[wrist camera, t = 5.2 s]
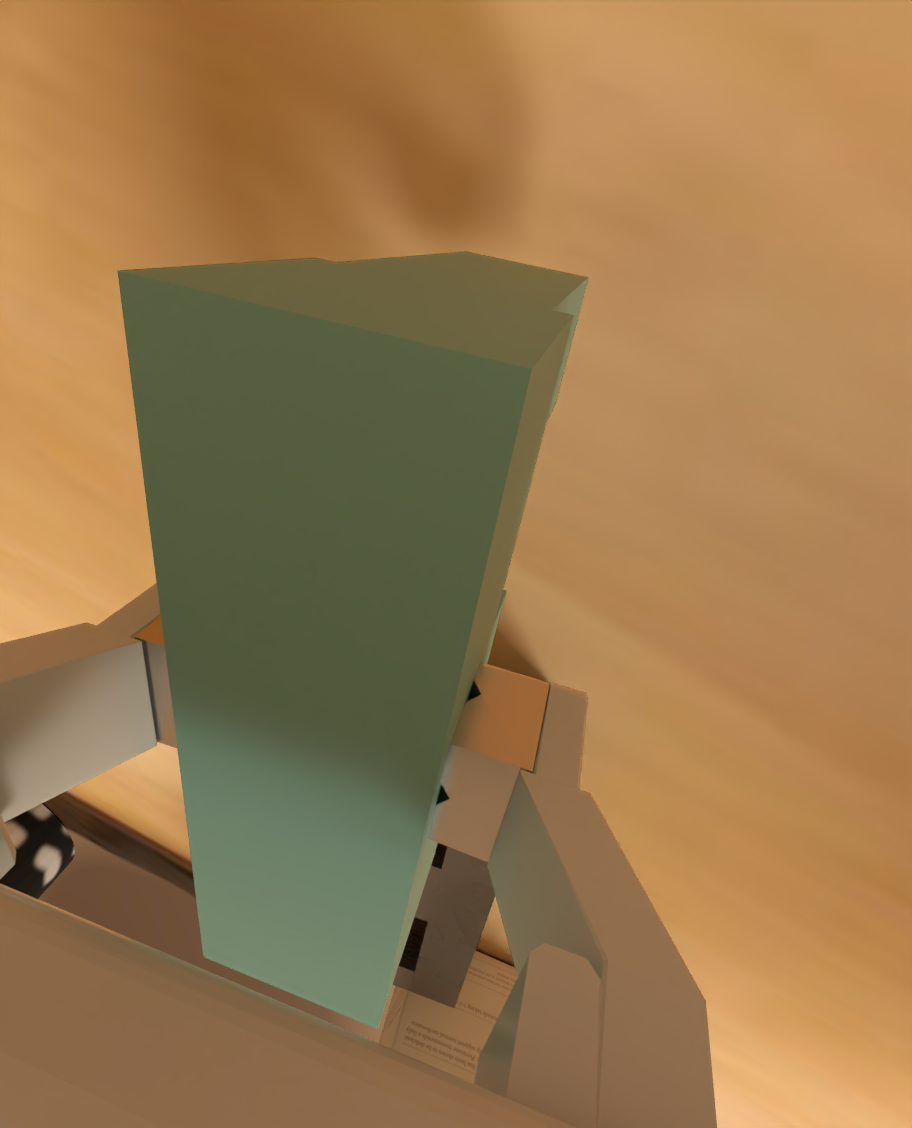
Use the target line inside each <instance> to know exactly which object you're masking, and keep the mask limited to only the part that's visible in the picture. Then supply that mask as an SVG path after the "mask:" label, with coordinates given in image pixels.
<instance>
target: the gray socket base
mask: <svg viewBox="0 0 912 1128" xmlns="http://www.w3.org/2000/svg"><path fill="white" fill-rule="evenodd" d="M487 865H488V862H486V861H483V860H481V859H478V858H476V857H473V856H471V855H468V854H466V853H463V852H461V851H458V850H455V849H453V848H450V847H448V846H445V845H443V844H440V843H438V844H437V848H436V851H435V855H434V858H433V861H432V864H431V867H430V870H429V874H428V877H427V880H426V883H425V886H424V889H423V892H422V895H421V898H420V901H419V904H418V907H417V911H416V914H415V917H414V920H413V923H412V926H411V929H410V932H409V935H408V938H407V941H406V945H405V948H404V951H403V954H402V957H401V960H400V963H399V966H398V969H397V972H396V975H395V978H394V982H393V985H395V986H397V987H400V988H403V989H405V990H408V991H410V992H413V993H416V994H418V995H421V996H423V997H426V998H429V999H431V1000H434V1001H436V1002H439V1003H442V1004H444V1005H447V1006H450V1007H452V1008H455V1005H456V1002H457V1000H458V997H459V994H460V991H461V989H462V986H463V983H464V980H465V978H466V975H467V972H468V969H469V967H470V964H471V961H472V958H473V955H474V953H475V950H476V947H477V944H478V942H479V939H480V936H481V933H482V931H483V928H484V925H485V922H486V920H487V917H488V914H489V911H490V908H491V906H492V903H493V900H494V897H495V892H494V888H493V885H492V881H491V877H490V874H489V870H488V866H487Z"/></svg>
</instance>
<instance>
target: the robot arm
mask: <svg viewBox="0 0 912 1128" xmlns="http://www.w3.org/2000/svg"><path fill="white" fill-rule="evenodd" d="M587 705H588V697H587V694H586V693H585V692H582V691H578V690H575V689H571V688H568V687H564V686H561V685H558V684H554V683H550V684H549V683H548V682H545V681H541V680H538V679H535V678H532V677H529V676H525V675H522V674H519V673H516V672H512V671H509V670H506V669H503V668H499V667H496V666H493V665H490V664H486V663H483V662H481V663H480V664H479V666H478V669H477V672H476V675H475V677H474V680H473V684H472V688H471V692H470V696H469V700H468V702H466V703H465V705H464V707H463V710H462V713H461V716H460V718H459V721H458V724H457V727H456V729H455V732H454V735H453V738H452V740H451V743H450V747H449V751H448V755H447V759H446V764H445V768H444V772H443V776H442V780H441V784H442V788H441V791H440V794H439V797H438V799H437V802H436V805H435V809H434V813H433V818H432V822H431V826H430V830H429V834H428V839H430V840H433V841H435V842H438V843H440V844H443V845H445V846H448V847H450V848H453V849H455V850H458V851H461V852H463V853H466V854H468V855H471V856H473V857H476V858H478V859H481V860H483V861H486V862H488V865H487V866H488V870H489V874H490V877H491V881H492V885H493V888H494V892H495V896H496V899H497V903H498V907H499V910H500V914H501V918H502V921H503V925H504V929H505V932H506V936H507V940H508V943H509V947H510V951H511V955H512V958H513V962H514V966H515V969H516V973H517V977H518V978H517V980H516V982H515V984H514V986H513V988H512V990H511V992H510V994H509V996H508V998H507V1000H506V1002H505V1004H504V1007H503V1009H502V1011H501V1013H500V1015H499V1017H498V1019H497V1021H496V1023H495V1025H494V1027H493V1029H492V1031H491V1033H490V1035H489V1037H488V1039H487V1041H486V1043H485V1045H484V1047H483V1049H482V1052H481V1054H480V1056H479V1060H478V1065H477V1070H476V1075H475V1080H474V1084H473V1083H471V1082H468V1081H466V1080H464V1079H461V1078H459V1077H457V1076H454V1075H452V1074H449V1073H447V1072H445V1071H442V1070H440V1069H438V1068H435V1067H433V1066H431V1065H428V1064H426V1063H423V1062H421V1061H419V1060H416V1059H414V1058H412V1057H409V1056H407V1055H405V1054H402V1053H400V1052H397V1051H395V1050H393V1049H390V1048H388V1047H386V1046H383V1045H381V1044H379V1043H376V1042H374V1041H371V1040H369V1039H367V1038H364V1037H362V1036H359V1035H357V1034H355V1033H353V1032H350V1031H348V1030H345V1029H343V1028H341V1027H338V1026H336V1025H334V1024H331V1023H329V1022H327V1021H324V1020H322V1019H319V1018H317V1017H315V1016H312V1015H310V1014H307V1013H305V1012H303V1011H300V1010H298V1009H296V1008H293V1007H291V1006H288V1005H286V1004H284V1003H282V1002H279V1001H277V1000H274V999H272V998H270V997H267V996H265V995H263V994H260V993H258V992H256V991H253V990H251V989H248V988H246V987H244V986H241V985H239V984H237V983H234V982H232V981H230V980H227V979H225V978H222V977H220V976H218V975H216V974H213V973H211V972H208V971H206V970H203V969H201V968H199V967H197V966H194V965H191V964H190V963H187V962H184V961H182V960H180V959H178V958H175V957H173V956H170V955H168V954H166V953H163V952H161V951H159V950H156V949H154V948H151V947H149V946H147V945H144V944H142V943H140V942H137V941H135V940H133V939H130V938H128V937H126V936H123V935H121V934H119V933H116V932H114V931H112V930H109V929H107V928H104V927H102V926H100V925H97V924H95V923H93V922H90V921H88V920H86V919H83V918H81V917H78V916H76V915H74V914H71V913H69V912H66V911H64V910H62V909H60V908H57V907H55V906H52V905H50V904H48V903H45V902H43V901H40V900H38V899H36V898H34V897H31V896H29V895H26V894H24V893H22V892H19V891H17V890H15V889H12V888H10V887H8V886H5V885H3V884H1V883H0V1128H717V1121H716V1110H715V1099H714V1088H713V1077H712V1066H711V1055H710V1044H709V1033H708V1022H707V1011H706V1000H705V999H704V997H703V995H702V993H701V991H700V990H699V988H698V986H697V984H696V982H695V981H694V979H693V977H692V975H691V973H690V972H689V970H688V968H687V966H686V964H685V963H684V961H683V959H682V957H681V955H680V954H679V952H678V950H677V948H676V946H675V945H674V943H673V941H672V939H671V937H670V936H669V934H668V932H667V930H666V928H665V927H664V925H663V923H662V921H661V919H660V918H659V916H658V914H657V912H656V910H655V909H654V907H653V905H652V903H651V901H650V900H649V898H648V896H647V894H646V892H645V890H644V889H643V887H642V885H641V883H640V881H639V880H638V878H637V876H636V874H635V872H634V871H633V869H632V867H631V865H630V863H629V862H628V860H627V858H626V856H625V854H624V853H623V851H622V849H621V847H620V845H619V844H618V842H617V840H616V838H615V836H614V835H613V833H612V831H611V829H610V827H609V826H608V824H607V822H606V820H605V818H604V817H603V815H602V813H601V811H600V809H599V808H598V806H597V804H596V802H595V800H594V799H593V797H592V795H591V794H590V793H588V792H585V791H582V790H579V785H580V775H581V765H582V755H583V745H584V735H585V725H586V715H587ZM157 742H160V743H163V744H166V745H169V746H172V747H175V748H177V740H176V732H175V724H174V716H173V708H172V700H171V692H170V684H169V676H168V668H167V660H166V652H165V645H164V637H163V629H162V621H161V613H160V605H159V597H158V589H157V583H156V584H155V585H153V586H152V587H151V588H149V589H148V590H146V591H145V592H144V593H142V594H141V595H139V596H138V597H137V598H135V599H134V600H132V601H131V602H129V603H128V604H127V605H125V606H124V607H122V608H121V609H120V610H118V611H117V612H115V613H114V614H113V615H111V616H110V617H108V618H107V619H106V620H104V621H103V622H101V623H100V624H99V625H97V626H96V625H93V624H90V623H83V624H79V625H75V626H71V627H67V628H62V629H58V630H54V631H50V632H46V633H42V634H38V635H34V636H30V637H26V638H21V639H17V640H13V641H9V642H5V643H1V644H0V879H1V878H2V877H3V876H4V875H5V874H6V873H7V872H8V871H9V870H10V869H11V868H12V867H13V866H14V865H15V860H16V850H15V848H14V845H13V843H12V840H11V838H10V835H9V833H8V830H7V828H6V825H5V823H4V822H6V821H8V820H10V819H12V818H14V817H16V816H18V815H20V814H22V813H24V812H26V811H28V810H30V809H32V808H34V807H36V806H38V805H40V804H42V803H44V802H45V801H47V800H49V799H51V798H53V797H55V796H57V795H59V794H61V793H63V792H65V791H67V790H69V789H71V788H73V787H75V786H77V785H79V784H81V783H83V782H85V781H87V780H89V779H91V778H93V777H95V776H97V775H99V774H101V773H103V772H105V771H107V770H109V769H111V768H113V767H115V766H117V765H119V764H121V763H123V762H125V761H127V760H129V759H131V758H133V757H135V756H137V755H139V754H141V753H143V752H145V751H147V750H149V749H151V748H152V747H154V746H156V745H157Z"/></svg>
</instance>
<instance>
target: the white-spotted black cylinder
mask: <svg viewBox="0 0 912 1128" xmlns="http://www.w3.org/2000/svg"><path fill="white" fill-rule="evenodd" d="M4 823H5V825H6V828H7V830H8V833H9V835H10V838H11V840H12V843H13V845H14V848H15V850H16V860H15V865H14V866H13V867H12V868H11V869H10V870H9V871H8V872H7V873H6V874H5V875H4V876H3V877H2V878H1V879H0V883H1V884H3V885H5V886H8V887H10V888H12V889H15V890H17V891H19V892H22V893H24V894H26V895H29V896H31V897H34V898H36V899H38V898H39V897H40V896H41V895H42V894H43V893H44V891H45V890H46V889H47V888H48V887H49V886H50V885H51V884H52V882H53V881H54V880H55V879H56V878H57V877H58V876H59V874H60V873H61V872H62V871H63V870H64V869H65V868H66V867H67V866H68V864H69V863H70V862H71V861H72V859H73V857H74V853H75V848H74V844H73V841H72V839H71V837H70V835H69V833H68V832H67V830H66V829H65V827H64V826H63V825H62V823H61V822H60V821H59V820H58V819H57V817H56V816H55V815H54V814H53V813H52V812H51V811H50V810H49V809H47V808H46V807H45V806H44V805H43V804H40V805H38V806H36V807H34V808H32V809H30V810H28V811H26V812H24V813H22V814H20V815H18V816H16V817H14V818H12V819H10V820H8V821H6V822H4Z"/></svg>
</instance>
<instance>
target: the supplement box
mask: <svg viewBox="0 0 912 1128" xmlns="http://www.w3.org/2000/svg"><path fill="white" fill-rule="evenodd" d="M517 978H518V977H517V973H516V969H515V967H513V966H511V965H508V964H506V963H503V962H501V961H499V960H496V959H494V958H492V957H489V956H487V955H485V954H483V953H480V952H478V951H476V950H475V953H474V955H473V958H472V961H471V964H470V967H469V969H468V972H467V975H466V978H465V980H464V983H463V986H462V989H461V991H460V994H459V997H458V1000H457V1002H456V1005H455V1008H452V1007H450V1006H447V1005H444V1004H442V1003H439V1002H436V1001H434V1000H431V999H429V998H426V997H423V996H421V995H418V994H416V993H413V992H410V991H408V990H405V989H403V988H400V987H397V986H395V989H394V992H393V996H392V999H391V1003H390V1006H389V1010H388V1013H387V1016H386V1020H385V1023H384V1027H383V1030H382V1034H381V1037H380V1040H379V1044H381V1045H383V1046H386V1047H388V1048H390V1049H393V1050H395V1051H397V1052H400V1053H402V1054H405V1055H407V1056H409V1057H412V1058H414V1059H416V1060H419V1061H421V1062H423V1063H426V1064H428V1065H431V1066H433V1067H435V1068H438V1069H440V1070H442V1071H445V1072H447V1073H449V1074H452V1075H454V1076H457V1077H459V1078H461V1079H464V1080H466V1081H468V1082H471V1083H473V1084H474V1080H475V1075H476V1070H477V1065H478V1060H479V1056H480V1054H481V1052H482V1049H483V1047H484V1045H485V1043H486V1041H487V1039H488V1037H489V1035H490V1033H491V1031H492V1029H493V1027H494V1025H495V1023H496V1021H497V1019H498V1017H499V1015H500V1013H501V1011H502V1009H503V1007H504V1004H505V1002H506V1000H507V998H508V996H509V994H510V992H511V990H512V988H513V986H514V984H515V982H516V980H517Z"/></svg>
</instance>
